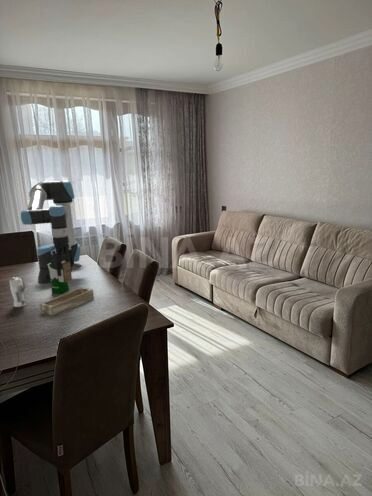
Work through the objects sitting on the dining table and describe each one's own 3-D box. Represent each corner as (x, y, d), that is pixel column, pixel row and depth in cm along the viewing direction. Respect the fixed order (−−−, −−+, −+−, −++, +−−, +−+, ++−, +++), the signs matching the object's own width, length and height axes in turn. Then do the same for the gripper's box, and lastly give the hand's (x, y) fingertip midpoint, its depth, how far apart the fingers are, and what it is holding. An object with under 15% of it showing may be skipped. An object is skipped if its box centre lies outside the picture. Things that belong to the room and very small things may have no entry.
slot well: (41, 313, 175) (39, 304, 174) (81, 295, 198) (80, 287, 197) (53, 316, 170) (52, 307, 169) (93, 298, 193) (92, 289, 192)
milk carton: (49, 294, 203) (45, 261, 198) (59, 288, 211) (55, 257, 206) (61, 295, 200) (57, 261, 195) (71, 290, 208) (68, 257, 204)
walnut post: (59, 281, 180) (57, 262, 178) (66, 278, 184) (63, 260, 182) (65, 282, 178) (63, 263, 176) (72, 279, 182) (70, 261, 179)
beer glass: (16, 303, 190) (12, 277, 187) (29, 302, 191) (25, 276, 187) (11, 308, 183) (6, 281, 180) (24, 307, 184) (20, 280, 180)
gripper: (51, 239, 166) (57, 286, 171) (78, 233, 181) (83, 276, 186) (40, 239, 170) (46, 284, 175) (68, 232, 185) (73, 274, 190)
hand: (65, 280), depth 181 cm, fingers closed on walnut post, 4 cm apart
